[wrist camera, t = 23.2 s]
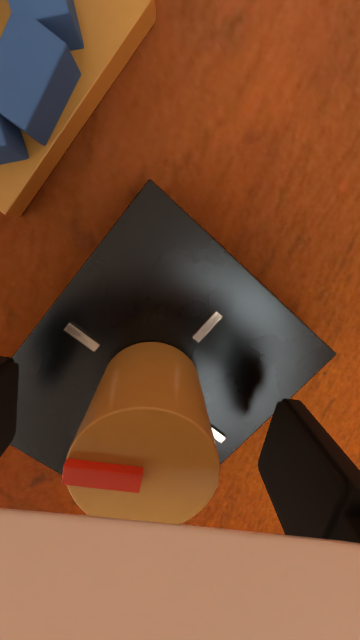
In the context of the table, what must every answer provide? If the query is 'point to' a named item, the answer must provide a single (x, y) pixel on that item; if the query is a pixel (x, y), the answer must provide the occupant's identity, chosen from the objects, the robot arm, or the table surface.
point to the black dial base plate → (162, 331)
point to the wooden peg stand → (78, 89)
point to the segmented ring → (36, 71)
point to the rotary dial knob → (145, 440)
